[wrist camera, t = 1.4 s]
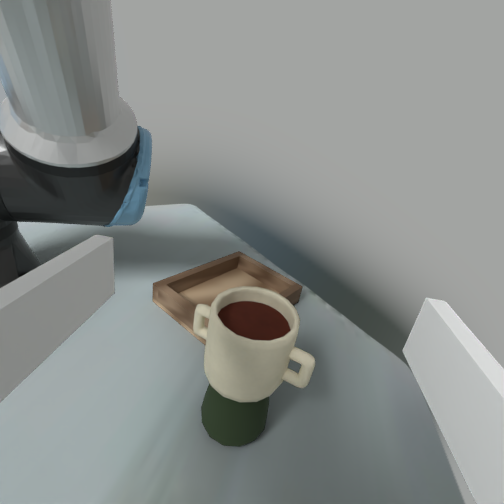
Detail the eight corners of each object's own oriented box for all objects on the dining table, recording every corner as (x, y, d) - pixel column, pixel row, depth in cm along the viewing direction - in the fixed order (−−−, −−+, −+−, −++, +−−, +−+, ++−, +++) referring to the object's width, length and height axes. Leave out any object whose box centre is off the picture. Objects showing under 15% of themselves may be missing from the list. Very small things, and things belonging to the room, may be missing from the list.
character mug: (297, 417, 31) (334, 316, 25) (269, 487, 25) (309, 375, 19) (206, 367, 34) (220, 268, 29) (163, 417, 29) (170, 305, 23)
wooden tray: (152, 301, 43) (153, 283, 42) (236, 265, 56) (239, 251, 54) (219, 357, 36) (222, 337, 35) (298, 302, 49) (302, 286, 47)
